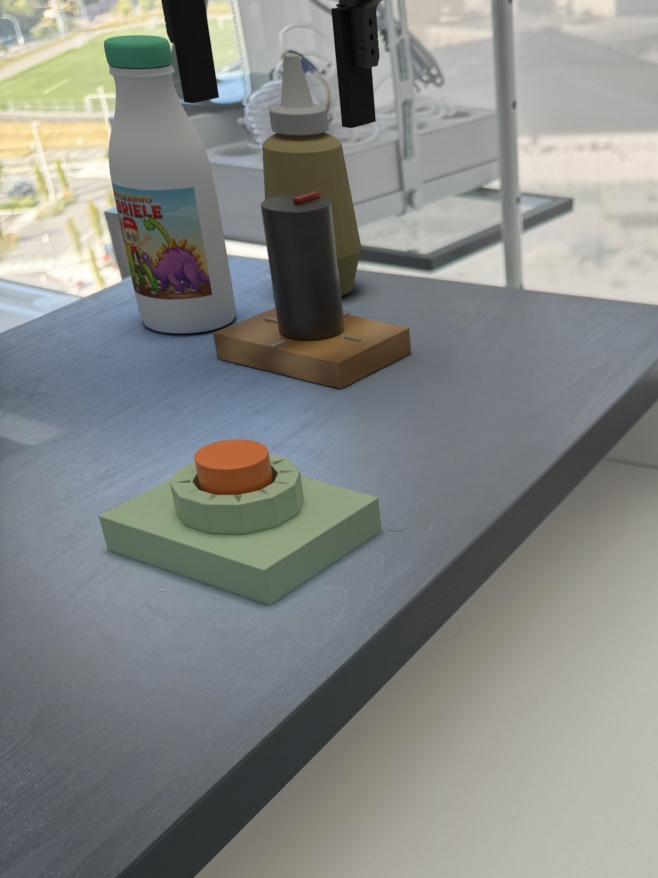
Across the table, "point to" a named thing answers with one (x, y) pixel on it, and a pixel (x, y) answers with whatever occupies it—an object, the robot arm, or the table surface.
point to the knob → (303, 265)
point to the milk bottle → (165, 195)
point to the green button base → (244, 530)
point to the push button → (233, 467)
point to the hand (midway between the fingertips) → (278, 112)
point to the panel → (314, 349)
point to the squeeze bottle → (310, 163)
